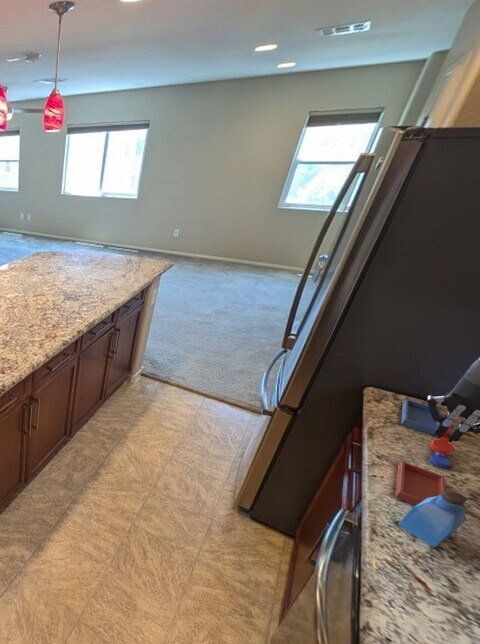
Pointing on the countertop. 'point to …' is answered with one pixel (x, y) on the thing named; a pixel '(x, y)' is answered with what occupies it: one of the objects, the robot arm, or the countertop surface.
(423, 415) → the blue tray
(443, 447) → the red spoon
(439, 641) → the countertop surface
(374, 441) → the countertop surface
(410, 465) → the red tray
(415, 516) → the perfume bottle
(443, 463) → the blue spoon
